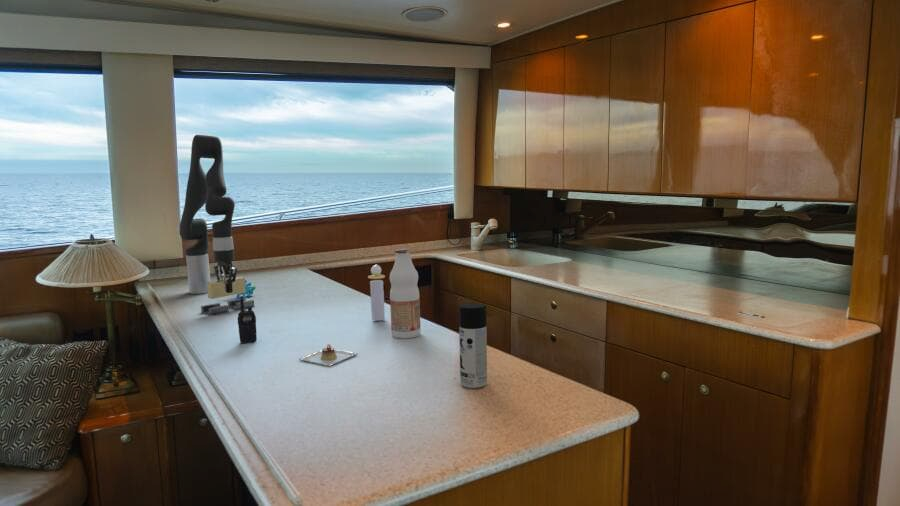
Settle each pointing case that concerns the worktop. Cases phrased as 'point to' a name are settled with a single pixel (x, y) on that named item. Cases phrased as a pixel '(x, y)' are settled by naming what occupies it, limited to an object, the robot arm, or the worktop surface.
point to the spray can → (473, 345)
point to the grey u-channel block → (226, 306)
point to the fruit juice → (404, 297)
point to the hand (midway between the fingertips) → (227, 291)
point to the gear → (247, 290)
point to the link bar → (219, 288)
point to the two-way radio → (246, 324)
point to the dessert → (328, 355)
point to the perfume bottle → (377, 294)
